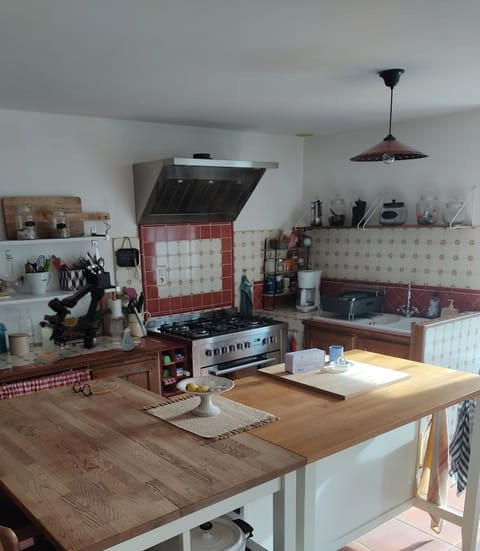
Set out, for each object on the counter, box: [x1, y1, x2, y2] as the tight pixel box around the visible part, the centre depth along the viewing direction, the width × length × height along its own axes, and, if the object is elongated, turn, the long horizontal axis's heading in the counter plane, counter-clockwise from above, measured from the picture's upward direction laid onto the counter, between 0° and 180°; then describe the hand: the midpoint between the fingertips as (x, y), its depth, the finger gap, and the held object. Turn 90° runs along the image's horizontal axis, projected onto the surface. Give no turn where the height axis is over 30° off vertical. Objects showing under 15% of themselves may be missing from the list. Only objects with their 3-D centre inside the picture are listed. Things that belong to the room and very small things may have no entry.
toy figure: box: [112, 327, 142, 352], centre depth 301 cm, size 17×10×15 cm, turn 105°
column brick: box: [41, 326, 55, 353], centre depth 282 cm, size 6×6×14 cm
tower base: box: [32, 350, 65, 365], centre depth 283 cm, size 12×12×4 cm
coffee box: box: [111, 316, 129, 344], centre depth 320 cm, size 9×6×16 cm
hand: (46, 339), depth 281 cm, fingers closed on column brick, 6 cm apart
